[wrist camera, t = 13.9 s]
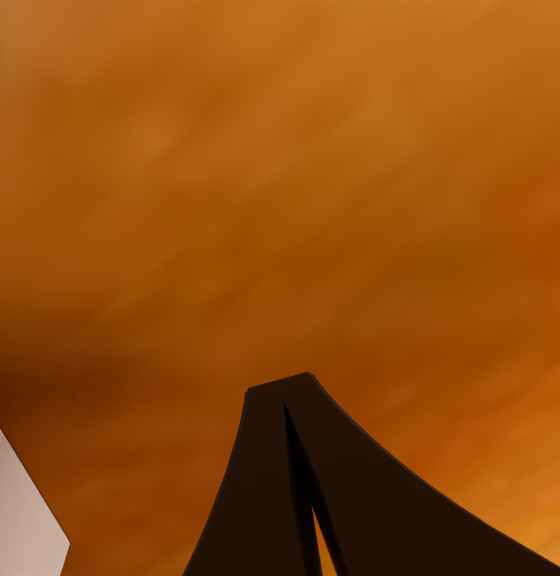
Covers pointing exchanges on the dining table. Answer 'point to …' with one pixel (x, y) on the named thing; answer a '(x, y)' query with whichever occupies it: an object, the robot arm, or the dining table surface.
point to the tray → (26, 523)
